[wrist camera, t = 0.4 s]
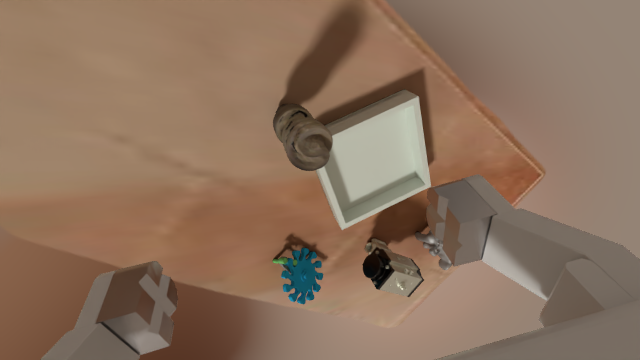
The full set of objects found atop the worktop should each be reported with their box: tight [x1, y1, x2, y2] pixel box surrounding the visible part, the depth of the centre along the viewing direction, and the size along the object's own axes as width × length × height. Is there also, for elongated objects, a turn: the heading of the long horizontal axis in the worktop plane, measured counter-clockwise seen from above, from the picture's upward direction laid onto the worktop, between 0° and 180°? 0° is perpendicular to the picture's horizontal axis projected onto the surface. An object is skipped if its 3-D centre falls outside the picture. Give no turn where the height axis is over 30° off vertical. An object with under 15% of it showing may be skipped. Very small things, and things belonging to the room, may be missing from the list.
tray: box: [316, 89, 431, 230], centre depth 54 cm, size 18×18×4 cm
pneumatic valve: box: [363, 238, 424, 297], centre depth 63 cm, size 6×12×12 cm, turn 56°
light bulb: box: [273, 104, 333, 171], centre depth 41 cm, size 6×6×15 cm
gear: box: [273, 248, 323, 304], centre depth 61 cm, size 11×6×10 cm
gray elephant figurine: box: [415, 230, 452, 270], centre depth 70 cm, size 9×12×8 cm
